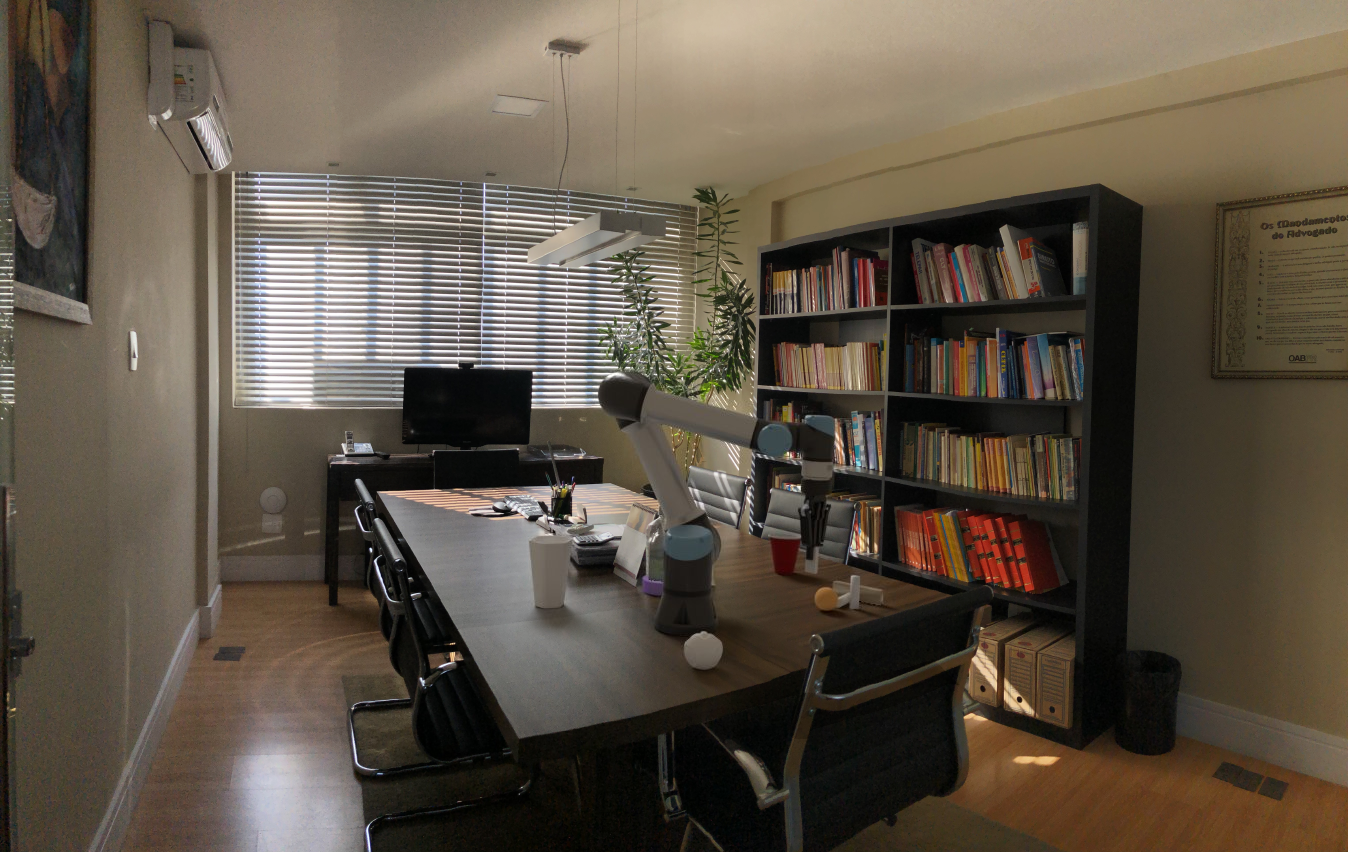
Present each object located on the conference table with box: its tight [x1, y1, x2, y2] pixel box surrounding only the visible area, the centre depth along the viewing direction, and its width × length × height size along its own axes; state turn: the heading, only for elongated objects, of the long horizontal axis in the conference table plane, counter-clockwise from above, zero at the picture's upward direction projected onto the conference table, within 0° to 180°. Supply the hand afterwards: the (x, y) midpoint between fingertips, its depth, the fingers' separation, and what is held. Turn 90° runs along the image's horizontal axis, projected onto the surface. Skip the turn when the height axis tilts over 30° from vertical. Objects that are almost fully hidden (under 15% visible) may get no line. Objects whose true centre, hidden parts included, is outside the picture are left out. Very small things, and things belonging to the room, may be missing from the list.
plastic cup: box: [767, 533, 801, 576], centre depth 250 cm, size 11×11×12 cm
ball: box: [814, 586, 839, 612], centre depth 209 cm, size 6×6×6 cm
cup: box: [528, 534, 574, 610], centre depth 206 cm, size 11×10×17 cm
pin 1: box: [835, 593, 850, 609], centre depth 216 cm, size 2×2×8 cm
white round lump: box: [683, 631, 724, 671], centre depth 164 cm, size 8×8×8 cm
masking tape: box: [642, 574, 663, 597], centre depth 225 cm, size 12×12×4 cm
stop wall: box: [832, 580, 884, 606], centre depth 220 cm, size 2×14×4 cm, turn 52°
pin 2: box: [849, 574, 861, 610], centre depth 212 cm, size 2×2×8 cm
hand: (811, 572), depth 199 cm, fingers closed
